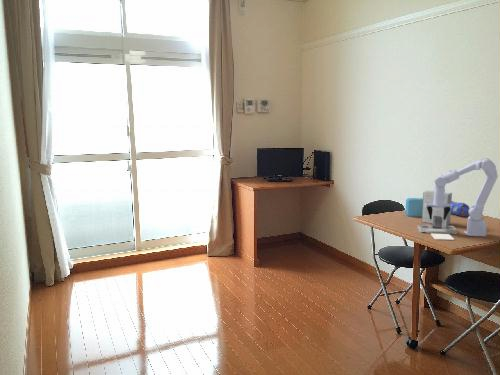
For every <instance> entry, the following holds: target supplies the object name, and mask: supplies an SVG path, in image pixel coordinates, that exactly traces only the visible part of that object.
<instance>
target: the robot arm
mask: <svg viewBox="0 0 500 375" xmlns="http://www.w3.org/2000/svg"><path fill="white" fill-rule="evenodd" d="M481 169H482V170H483V171H484V173H485V175H486V178H485V180H484V183H483V184H482V186H481V189H480V191H479V192H478V195H477V198H476V200H474V202H473V204H472V206H470V207H469V208H470V209H469V210H468V213H469V214H468V215H469V216H468V217H467V223H466V231H465V230H464V231H463V232H464V233H465V235H467V236H469V237H487V221H486V219H483V216H484V215H483V212H484V210H485V205H486V203H487V200H488V199H489V196H490V194H491V192H492V190H493V188H494V185H495V184H496V182H497V179H498V177H499V176H498V170H497V166H496V164H495V163H494V162H493V161H492V160H491V159H490V158H487V157H483V158H481V159H478V160H475V161H473V162H472V163H470V164H468V165H466V166H463V167H461V168H460V169H458V170H456V169H449V170H448V171H449V172H446V173H443V174H440V175H439V176H437V177H436V178H434V183H435V184H434V190H433V191H434V201H433V203H428V204H425V207H427V210H428V212H429V217H430V219H431V220H432V211H433V209H432V207H441V208H444V216H443V219H444V220H446V217H447V214H448V213H449V211H450V208H452V204H444V197H445V192H446V189H445V188H446V186H447V184H450V183H452V182H455V181H457V180H459V179H460V176H462V175H464V174H467V173H469V172H472V171H475V170H476V171H481Z"/></svg>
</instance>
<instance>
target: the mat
mask: <svg viewBox="0 0 500 375" xmlns="http://www.w3.org/2000/svg"><path fill="white" fill-rule="evenodd" d="M430 235H431V237H433V239H434V240H436V241H437V240H438V241H455V238H454V237H453V236H452V234H448V233H430Z"/></svg>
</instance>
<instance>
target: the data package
mask: <svg viewBox="0 0 500 375" xmlns="http://www.w3.org/2000/svg"><path fill="white" fill-rule="evenodd" d="M422 208H423V197H408V198H406V199H405V215H406V216H407V217H410V218H411V217H417V218H418V217H422Z"/></svg>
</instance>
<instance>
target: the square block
mask: <svg viewBox="0 0 500 375" xmlns="http://www.w3.org/2000/svg"><path fill="white" fill-rule="evenodd" d="M432 225H433V228H442V226H443V225H442V217H441V216H433V224H432Z"/></svg>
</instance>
